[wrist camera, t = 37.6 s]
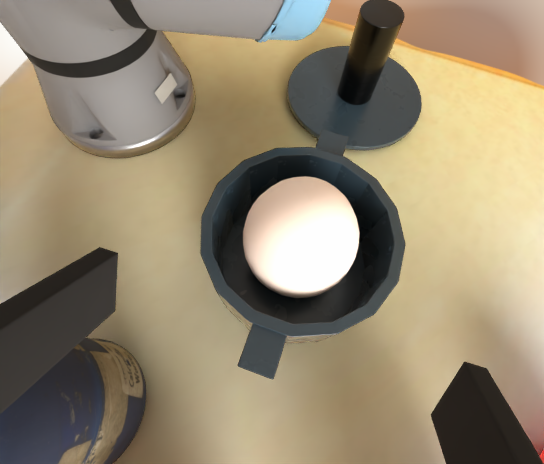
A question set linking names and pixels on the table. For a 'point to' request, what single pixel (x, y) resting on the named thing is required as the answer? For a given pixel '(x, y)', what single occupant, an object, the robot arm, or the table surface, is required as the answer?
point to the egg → (300, 237)
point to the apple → (542, 456)
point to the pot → (287, 310)
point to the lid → (358, 84)
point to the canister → (77, 409)
